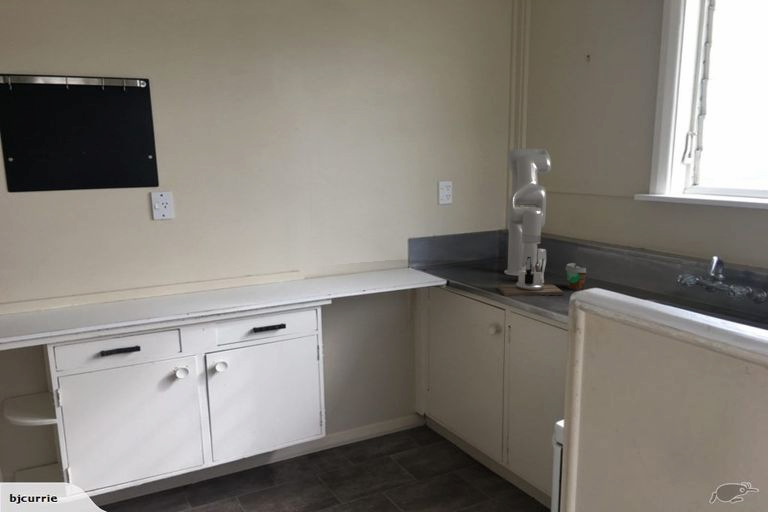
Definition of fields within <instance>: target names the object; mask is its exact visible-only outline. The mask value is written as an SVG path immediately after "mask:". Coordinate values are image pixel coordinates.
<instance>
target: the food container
mask: <svg viewBox="0 0 768 512" xmlns="http://www.w3.org/2000/svg"><path fill="white" fill-rule="evenodd" d="M565 271H566V286H567V289H568V288H569V289H568V290H571V289H574V290H573V291H578V290H577V289H579V290H583V289H585V282H586V274H587V268H586V267H581V266H578V265H576V262H574V263H573V262H571V263H567V264H566V266H565Z"/></svg>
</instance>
